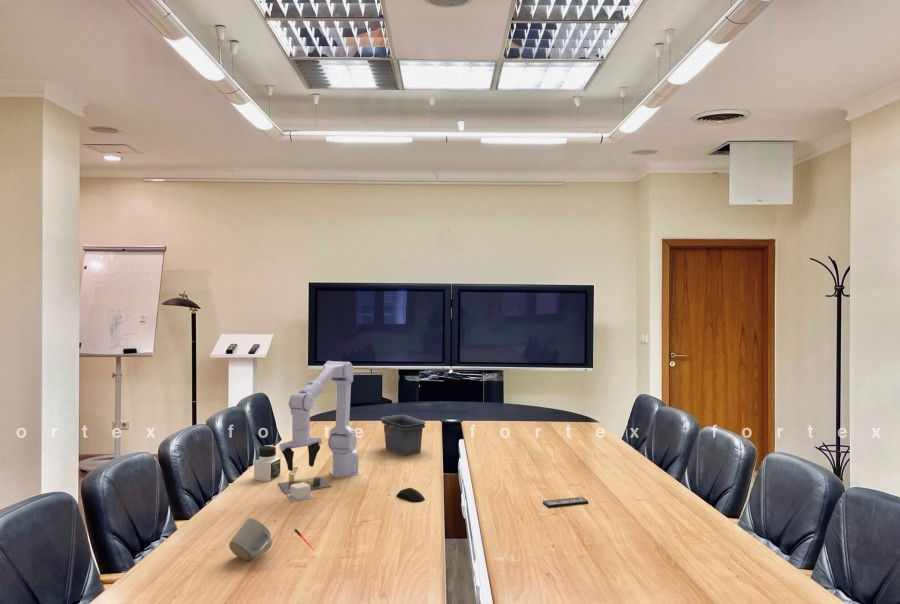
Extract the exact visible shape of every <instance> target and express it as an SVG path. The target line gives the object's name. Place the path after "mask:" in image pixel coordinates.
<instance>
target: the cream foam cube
mask: <svg viewBox="0 0 900 604" xmlns="http://www.w3.org/2000/svg"><path fill="white" fill-rule="evenodd" d="M311 491H312V490H311V486H310V485H308V484H307V483H305V482H302V483H297V484H293V485H290V495H291V496H292V497H294V498H296V499H300V498H304V497H308V496H311V493H312V492H311Z"/></svg>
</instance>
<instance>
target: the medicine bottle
mask: <svg viewBox="0 0 900 604" xmlns="http://www.w3.org/2000/svg"><path fill="white" fill-rule="evenodd" d="M276 447H277V446H274V445H269V444H268V445H263V446H261V447H259V449H258V459H256V460H254V462H253V480H254V481H261V480H262V481H264V482H272V481H274V480H275V478H276V479H277V478H279V477H280V476H281V457H280V456H279V457H278V456H277V455H276V453H277V452H276V451H277V448H276Z"/></svg>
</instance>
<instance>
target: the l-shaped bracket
mask: <svg viewBox="0 0 900 604" xmlns="http://www.w3.org/2000/svg"><path fill="white" fill-rule="evenodd" d="M298 469H299V467H298V466H293V470H292V471H290V472H289V474H288V482H289V486H290V485H293V484H297V483H302V482H305V483H307V484H308V485H313V486H320V477H321V476H315V477H313V478H314V479H310V478H306V479H304V478H303V479H302V478H301V479H300V478H299V479H295V475H296V473H297V471H298Z"/></svg>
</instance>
